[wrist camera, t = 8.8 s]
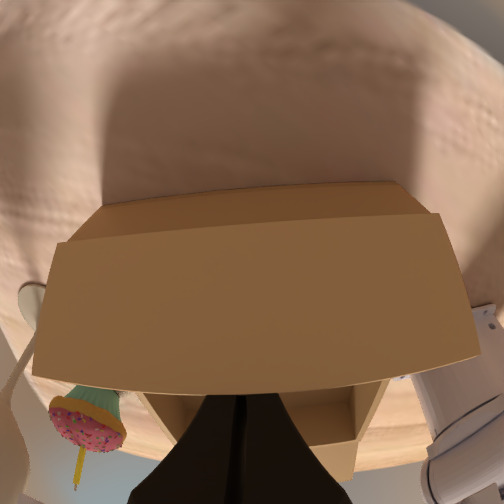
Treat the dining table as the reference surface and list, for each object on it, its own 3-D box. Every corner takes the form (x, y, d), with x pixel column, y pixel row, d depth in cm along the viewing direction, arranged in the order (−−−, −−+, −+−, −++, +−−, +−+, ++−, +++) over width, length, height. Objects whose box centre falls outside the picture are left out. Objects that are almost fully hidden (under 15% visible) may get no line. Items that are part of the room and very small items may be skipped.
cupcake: (139, 417, 30) (120, 507, 20) (76, 400, 29) (48, 481, 19) (127, 377, 25) (96, 490, 15) (53, 358, 25) (11, 454, 15)
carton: (394, 181, 16) (438, 219, 11) (351, 399, 27) (360, 441, 23) (101, 205, 16) (60, 248, 12) (184, 408, 28) (177, 450, 24)
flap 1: (39, 377, 9) (31, 375, 9) (63, 248, 12) (57, 242, 12) (474, 357, 8) (481, 354, 8) (434, 220, 11) (438, 213, 11)
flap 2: (351, 480, 23) (350, 476, 24) (358, 441, 23) (357, 438, 23) (191, 487, 24) (192, 484, 25) (179, 450, 24) (180, 447, 24)
